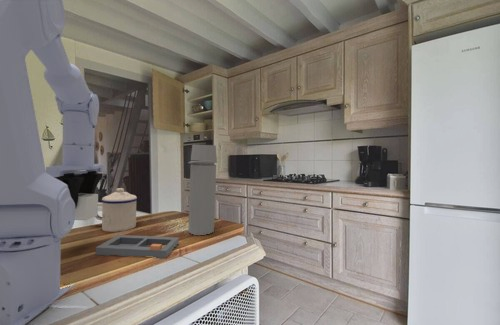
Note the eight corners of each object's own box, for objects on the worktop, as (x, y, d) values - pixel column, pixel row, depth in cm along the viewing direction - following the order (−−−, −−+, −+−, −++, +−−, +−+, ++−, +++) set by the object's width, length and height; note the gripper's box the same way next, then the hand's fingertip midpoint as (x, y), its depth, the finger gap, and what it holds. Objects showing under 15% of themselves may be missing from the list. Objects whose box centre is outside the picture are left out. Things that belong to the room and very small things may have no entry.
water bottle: (220, 233, 68) (223, 145, 67) (197, 240, 62) (200, 144, 61) (200, 226, 74) (203, 145, 73) (178, 231, 68) (180, 144, 67)
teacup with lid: (141, 224, 74) (142, 186, 73) (128, 233, 64) (129, 191, 64) (101, 223, 73) (102, 185, 72) (82, 233, 64) (83, 190, 63)
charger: (85, 220, 50) (86, 196, 50) (62, 219, 50) (62, 195, 50) (97, 215, 54) (98, 193, 54) (75, 214, 54) (76, 192, 54)
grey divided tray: (165, 262, 49) (166, 247, 49) (95, 259, 50) (95, 243, 50) (178, 247, 57) (178, 234, 57) (117, 244, 58) (118, 231, 58)
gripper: (72, 144, 45) (71, 215, 45) (115, 147, 59) (114, 200, 60) (35, 143, 45) (34, 214, 45) (87, 145, 59) (86, 199, 60)
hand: (78, 206), depth 52 cm, fingers closed on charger, 4 cm apart
